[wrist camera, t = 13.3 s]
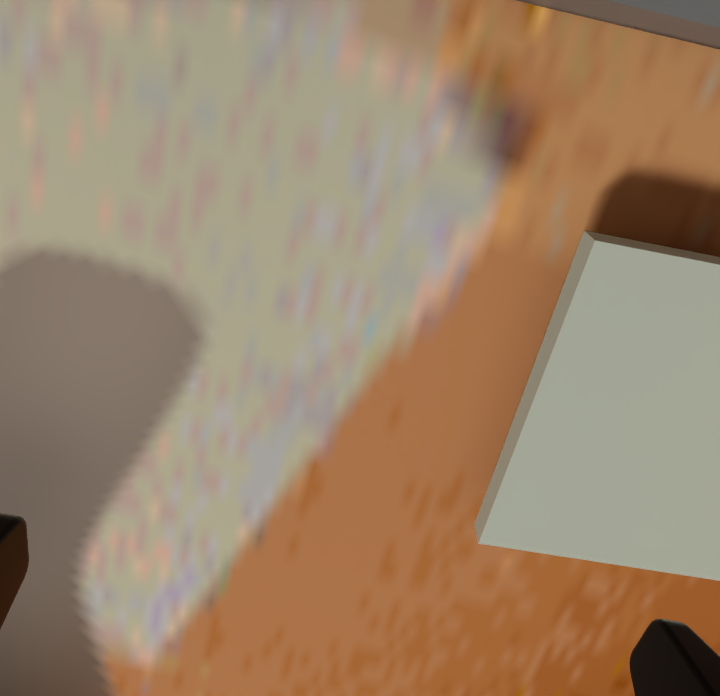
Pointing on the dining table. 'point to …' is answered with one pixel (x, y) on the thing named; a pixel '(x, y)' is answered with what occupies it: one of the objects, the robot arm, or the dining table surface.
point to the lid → (619, 417)
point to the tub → (651, 16)
